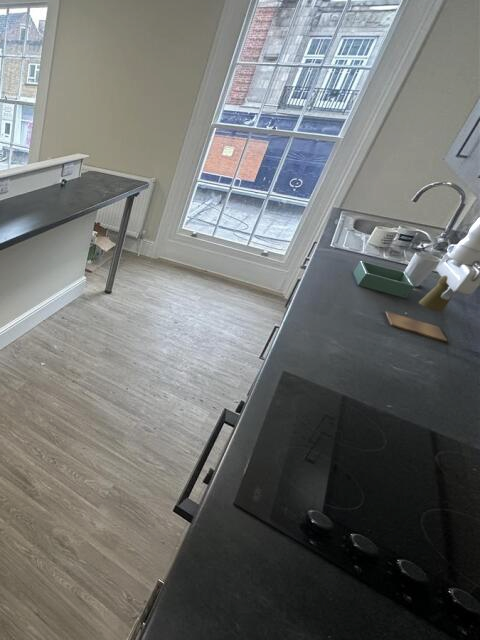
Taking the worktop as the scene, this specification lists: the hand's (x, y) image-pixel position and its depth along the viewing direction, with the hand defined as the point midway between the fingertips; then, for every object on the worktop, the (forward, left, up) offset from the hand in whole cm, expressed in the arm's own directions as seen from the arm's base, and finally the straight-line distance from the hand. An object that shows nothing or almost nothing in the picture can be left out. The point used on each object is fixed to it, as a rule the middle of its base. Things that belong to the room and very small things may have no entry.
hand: (440, 294), depth 130 cm
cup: (-7, -46, -13) cm, 48 cm away
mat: (0, 0, -13) cm, 13 cm away
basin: (+5, -33, -13) cm, 36 cm away
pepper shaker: (0, 0, -5) cm, 5 cm away
